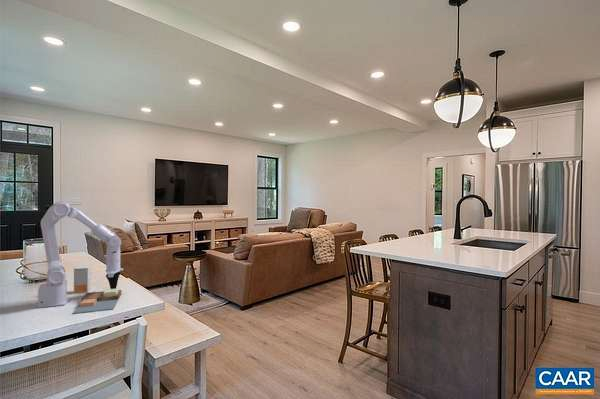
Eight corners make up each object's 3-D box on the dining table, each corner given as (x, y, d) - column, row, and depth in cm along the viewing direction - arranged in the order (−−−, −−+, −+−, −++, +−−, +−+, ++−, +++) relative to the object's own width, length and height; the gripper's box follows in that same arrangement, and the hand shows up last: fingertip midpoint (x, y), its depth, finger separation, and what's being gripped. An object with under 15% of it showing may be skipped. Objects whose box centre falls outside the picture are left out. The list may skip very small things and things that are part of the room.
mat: (72, 314, 124) (72, 313, 124) (81, 304, 135) (81, 303, 135) (113, 309, 129) (113, 308, 129) (118, 300, 140) (118, 299, 140)
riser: (81, 303, 135) (81, 299, 135) (86, 297, 143) (86, 292, 143) (118, 300, 140) (118, 295, 140) (121, 293, 148) (121, 289, 148)
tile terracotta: (79, 307, 130) (79, 303, 130) (83, 303, 135) (83, 299, 135) (93, 305, 132) (93, 302, 132) (96, 301, 136) (96, 298, 136)
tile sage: (103, 296, 139) (103, 292, 139) (105, 292, 144) (105, 289, 144) (116, 294, 141) (116, 291, 141) (118, 291, 146) (118, 288, 146)
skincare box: (73, 293, 148) (73, 268, 148) (77, 290, 152) (77, 266, 152) (87, 292, 150) (87, 267, 149) (91, 289, 154) (91, 265, 154)
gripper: (120, 262, 143) (120, 292, 143) (125, 256, 156) (125, 283, 156) (102, 264, 140) (102, 293, 140) (109, 257, 153) (109, 284, 154)
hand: (113, 288), depth 148 cm, fingers closed
